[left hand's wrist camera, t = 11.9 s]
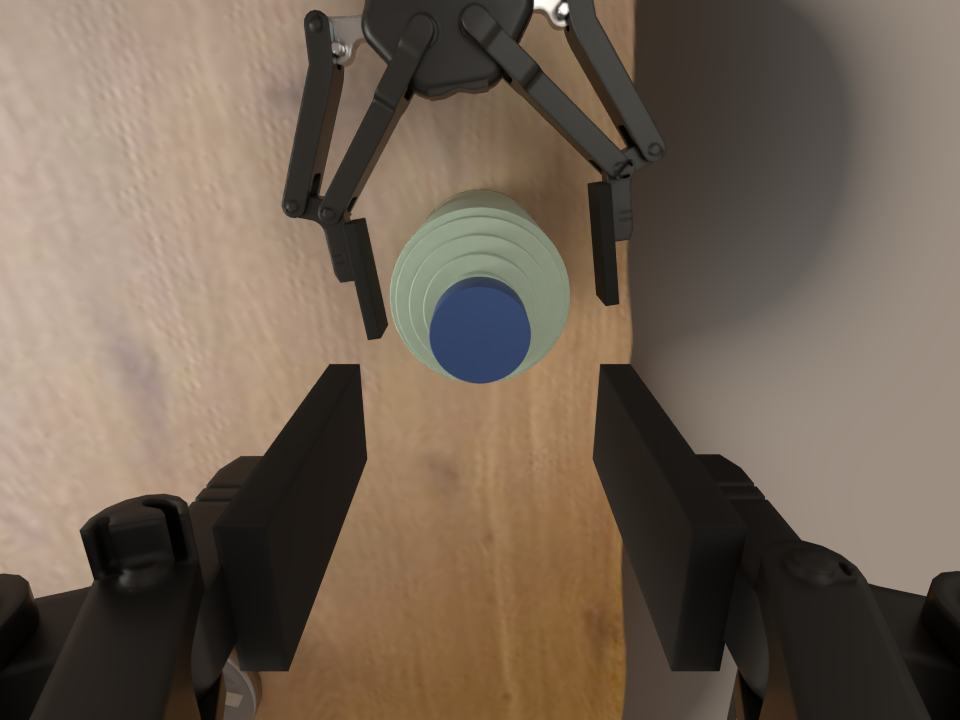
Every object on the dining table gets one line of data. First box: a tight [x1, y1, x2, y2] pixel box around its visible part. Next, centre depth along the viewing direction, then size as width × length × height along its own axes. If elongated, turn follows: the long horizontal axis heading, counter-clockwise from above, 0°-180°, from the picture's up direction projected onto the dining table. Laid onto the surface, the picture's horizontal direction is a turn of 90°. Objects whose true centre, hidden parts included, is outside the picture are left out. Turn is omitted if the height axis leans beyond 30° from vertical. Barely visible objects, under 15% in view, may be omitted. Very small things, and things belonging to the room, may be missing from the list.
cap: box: [429, 277, 531, 383], centre depth 21 cm, size 4×4×2 cm
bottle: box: [390, 190, 570, 383], centre depth 29 cm, size 8×8×18 cm
